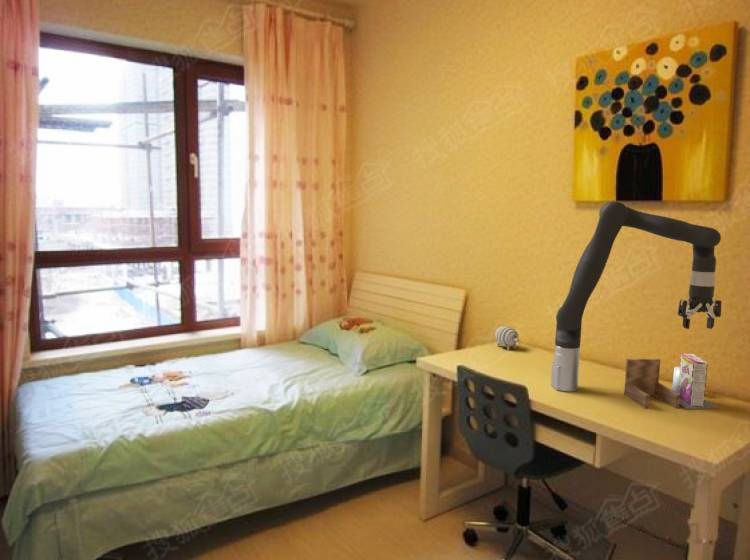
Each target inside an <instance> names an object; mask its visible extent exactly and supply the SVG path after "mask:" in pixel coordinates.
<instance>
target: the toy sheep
mask: <svg viewBox="0 0 750 560" xmlns="http://www.w3.org/2000/svg"><path fill="white" fill-rule="evenodd" d="M494 338H495V340H496V342H497V344H496V347H498V348H499V347H500V346H501V347H504V348H506V350H507V351H510V348H511V347H512V349H513V350H516V349H517V345H516V344H517V343H519V342H520V339H519V332H518V331H517V330H516V329H515V328H513V327H511V326H505V325H503V326H500V327H498V328H497V329H496V330H495V331H494Z"/></svg>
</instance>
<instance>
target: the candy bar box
mask: <svg viewBox="0 0 750 560" xmlns="http://www.w3.org/2000/svg"><path fill="white" fill-rule="evenodd" d="M679 364H680V365H679V367H680V376H679V388H678V394H680V397H681V398H682V399H683V400H684V401H685V402H687V403H688V404H689V405H690V406H701V407H704V399H705V400H706V398H705V397H706V387H707V385H706V384H707V374H708V364H709V363H708V362H707V361H705V360H703V358H701V357H699V356H698V355H697V354H696V353H681V354H680V363H679Z"/></svg>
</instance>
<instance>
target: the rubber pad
mask: <svg viewBox="0 0 750 560" xmlns="http://www.w3.org/2000/svg"><path fill="white" fill-rule="evenodd" d="M679 407H681V408H683V409H684V410H714V409H715V410H718V409H719V406H718V405H715V404H714V403H711V402H710V401H709V400H706V398H705V399H704V407H701V406H690V405H689V404H688V403H687V402H685V401H684V400H683V399H682V398H681V397H680V401H679Z"/></svg>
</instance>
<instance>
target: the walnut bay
mask: <svg viewBox="0 0 750 560" xmlns="http://www.w3.org/2000/svg"><path fill="white" fill-rule="evenodd" d="M625 365H626V366H625V375H624V376H625V377H624V378H625V379H624V390H623V394H624V396H625V397H627V398H629V400H630V399H631V400H632V401H633V402H634V403H635V404H637V405H639V406H640V407H641V408H643V409H645V410H647V409H649V404H650V403H649V402H650V396H655V397H657V398H658V399H660V400H661V401H664V402H665V403H666V404H668V405H670V406H671V407H673V408H674V409H679V408H680V406H679V401H680V394H678V393H676V392H674V391H673V390H672V388H671V389H670V388H669V387H667V386H666V385H663V384H662V383H661V382H660V381H659V380H660V367H661V359H660V358H626V364H625Z"/></svg>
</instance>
